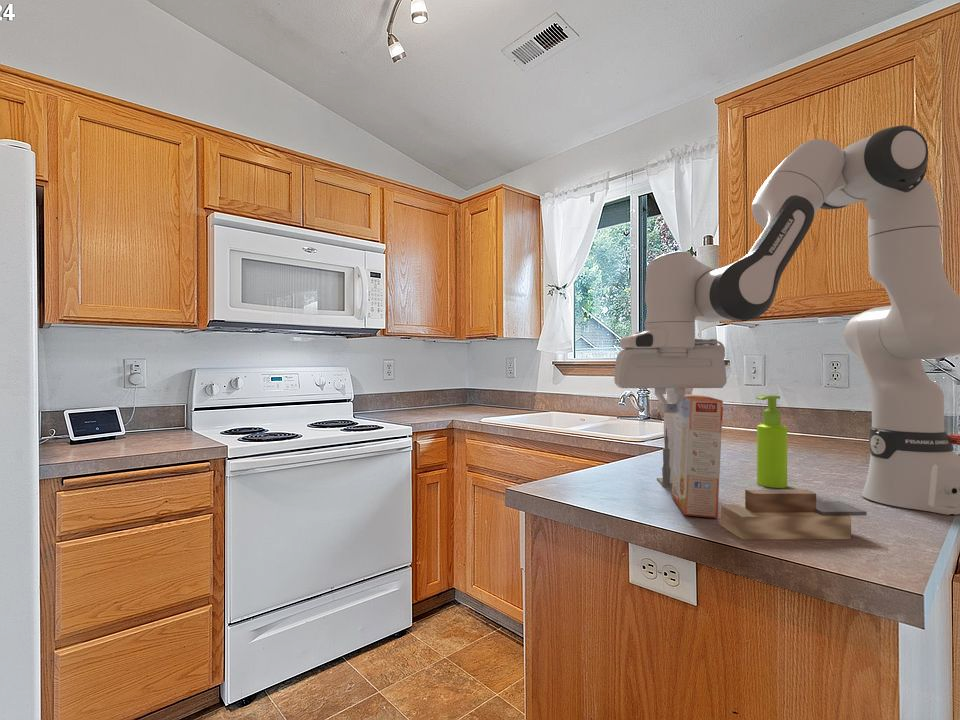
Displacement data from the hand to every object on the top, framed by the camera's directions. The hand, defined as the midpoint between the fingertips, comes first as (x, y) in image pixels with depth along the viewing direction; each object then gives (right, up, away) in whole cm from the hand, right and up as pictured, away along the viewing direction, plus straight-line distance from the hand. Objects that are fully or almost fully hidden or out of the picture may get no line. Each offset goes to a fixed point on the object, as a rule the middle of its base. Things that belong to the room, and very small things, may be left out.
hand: (669, 412), depth 98 cm
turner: (+16, -14, -14) cm, 26 cm away
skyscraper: (+9, -18, +20) cm, 29 cm away
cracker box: (+4, -18, 0) cm, 19 cm away
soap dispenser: (+29, -18, +19) cm, 39 cm away
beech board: (+13, -18, -14) cm, 26 cm away
